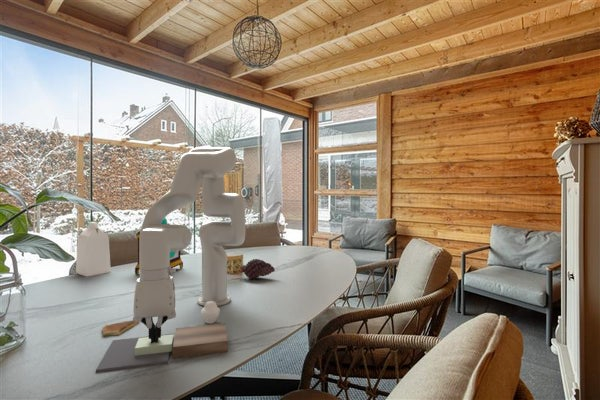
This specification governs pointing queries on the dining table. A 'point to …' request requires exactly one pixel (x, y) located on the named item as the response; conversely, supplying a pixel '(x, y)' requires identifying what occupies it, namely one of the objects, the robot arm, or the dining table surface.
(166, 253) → the robot arm
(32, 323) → the dining table surface
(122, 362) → the mat
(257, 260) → the pine cone
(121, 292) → the dining table surface
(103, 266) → the milk
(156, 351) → the pale green block
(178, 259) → the decorative lantern
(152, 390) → the dining table surface
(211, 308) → the white swirled ornament
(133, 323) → the shard
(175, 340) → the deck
